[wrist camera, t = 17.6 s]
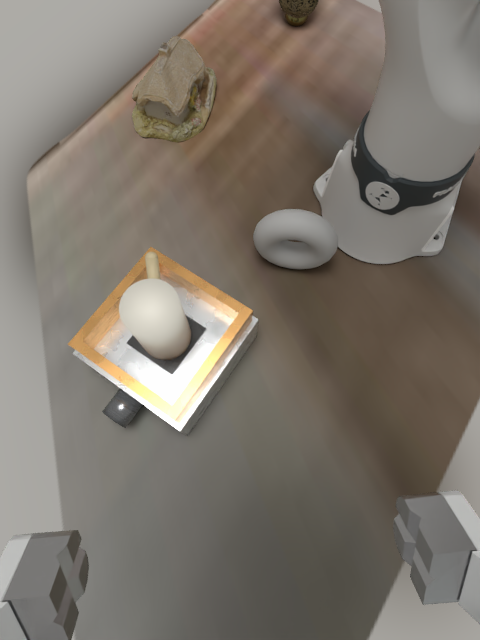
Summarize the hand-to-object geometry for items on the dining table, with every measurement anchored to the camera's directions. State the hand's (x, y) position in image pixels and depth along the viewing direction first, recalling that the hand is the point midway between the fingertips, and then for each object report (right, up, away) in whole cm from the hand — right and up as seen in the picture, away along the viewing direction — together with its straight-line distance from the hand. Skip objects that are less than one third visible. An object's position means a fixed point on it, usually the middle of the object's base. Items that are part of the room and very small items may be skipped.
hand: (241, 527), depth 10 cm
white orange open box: (-9, 0, +38) cm, 39 cm away
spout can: (-8, +5, +33) cm, 34 cm away
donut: (+6, +13, +42) cm, 45 cm away
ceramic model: (-10, +37, +51) cm, 64 cm away
